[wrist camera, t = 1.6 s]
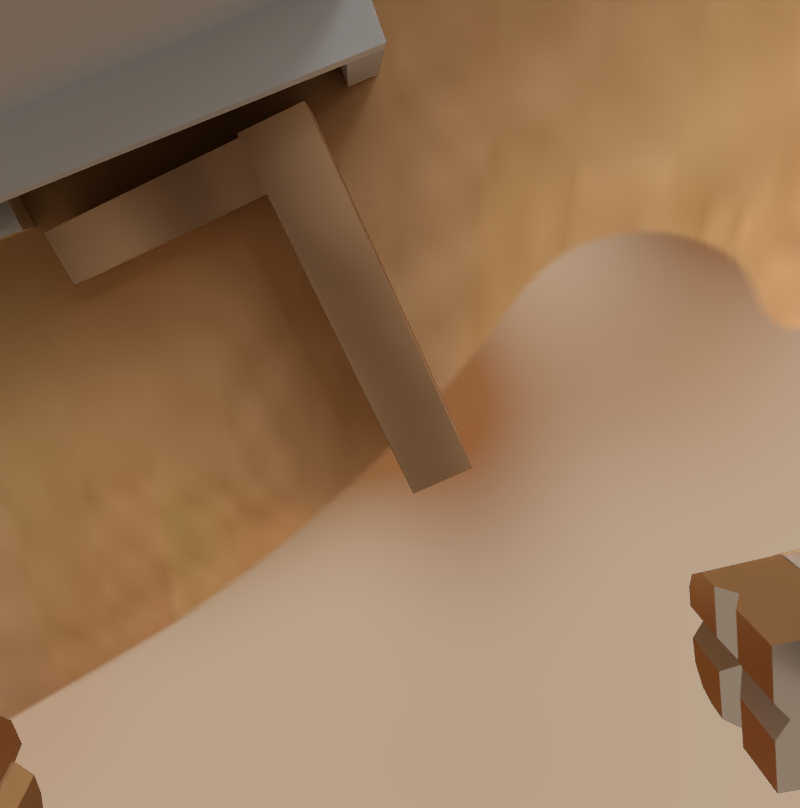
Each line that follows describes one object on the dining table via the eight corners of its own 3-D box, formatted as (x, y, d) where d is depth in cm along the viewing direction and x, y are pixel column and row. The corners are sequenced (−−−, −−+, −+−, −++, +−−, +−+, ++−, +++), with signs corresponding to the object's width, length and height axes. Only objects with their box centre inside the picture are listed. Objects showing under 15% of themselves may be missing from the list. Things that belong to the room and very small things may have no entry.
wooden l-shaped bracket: (312, 112, 28) (304, 100, 24) (454, 424, 33) (471, 467, 28) (78, 225, 29) (24, 236, 24) (246, 516, 33) (228, 574, 29)
